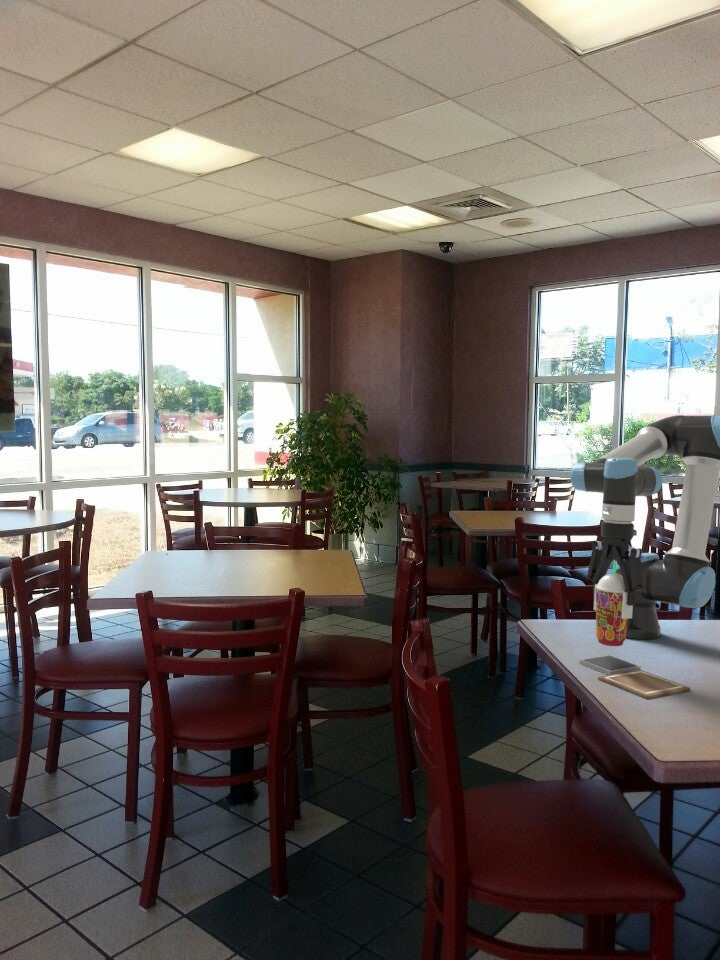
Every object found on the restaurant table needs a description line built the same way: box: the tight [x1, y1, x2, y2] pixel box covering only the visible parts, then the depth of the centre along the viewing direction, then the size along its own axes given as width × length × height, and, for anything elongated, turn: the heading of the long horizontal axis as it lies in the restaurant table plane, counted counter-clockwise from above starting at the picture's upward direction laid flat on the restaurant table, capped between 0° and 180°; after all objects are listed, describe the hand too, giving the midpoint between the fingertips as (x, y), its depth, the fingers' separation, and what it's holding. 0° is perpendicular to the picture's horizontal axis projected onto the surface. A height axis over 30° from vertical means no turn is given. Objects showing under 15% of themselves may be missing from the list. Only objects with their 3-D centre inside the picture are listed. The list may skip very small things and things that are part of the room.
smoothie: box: [595, 561, 628, 647], centre depth 188 cm, size 8×8×20 cm
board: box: [597, 669, 691, 700], centre depth 176 cm, size 14×14×1 cm
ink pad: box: [579, 654, 641, 675], centre depth 189 cm, size 10×10×1 cm
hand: (612, 613), depth 188 cm, fingers closed on smoothie, 8 cm apart
